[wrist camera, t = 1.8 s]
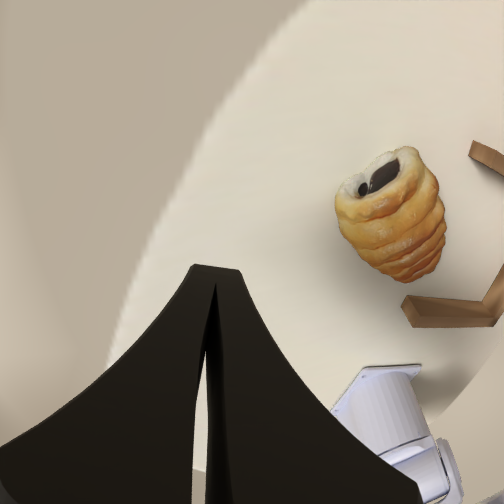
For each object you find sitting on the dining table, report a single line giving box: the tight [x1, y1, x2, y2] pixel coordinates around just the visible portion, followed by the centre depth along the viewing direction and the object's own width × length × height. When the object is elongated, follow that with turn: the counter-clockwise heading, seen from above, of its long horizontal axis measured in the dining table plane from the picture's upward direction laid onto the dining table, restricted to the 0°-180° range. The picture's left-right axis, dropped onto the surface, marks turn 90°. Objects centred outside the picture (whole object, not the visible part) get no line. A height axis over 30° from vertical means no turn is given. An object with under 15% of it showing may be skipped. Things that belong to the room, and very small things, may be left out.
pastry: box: [335, 146, 447, 283], centre depth 17 cm, size 9×7×4 cm
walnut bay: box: [401, 140, 504, 328], centre depth 18 cm, size 14×12×2 cm
